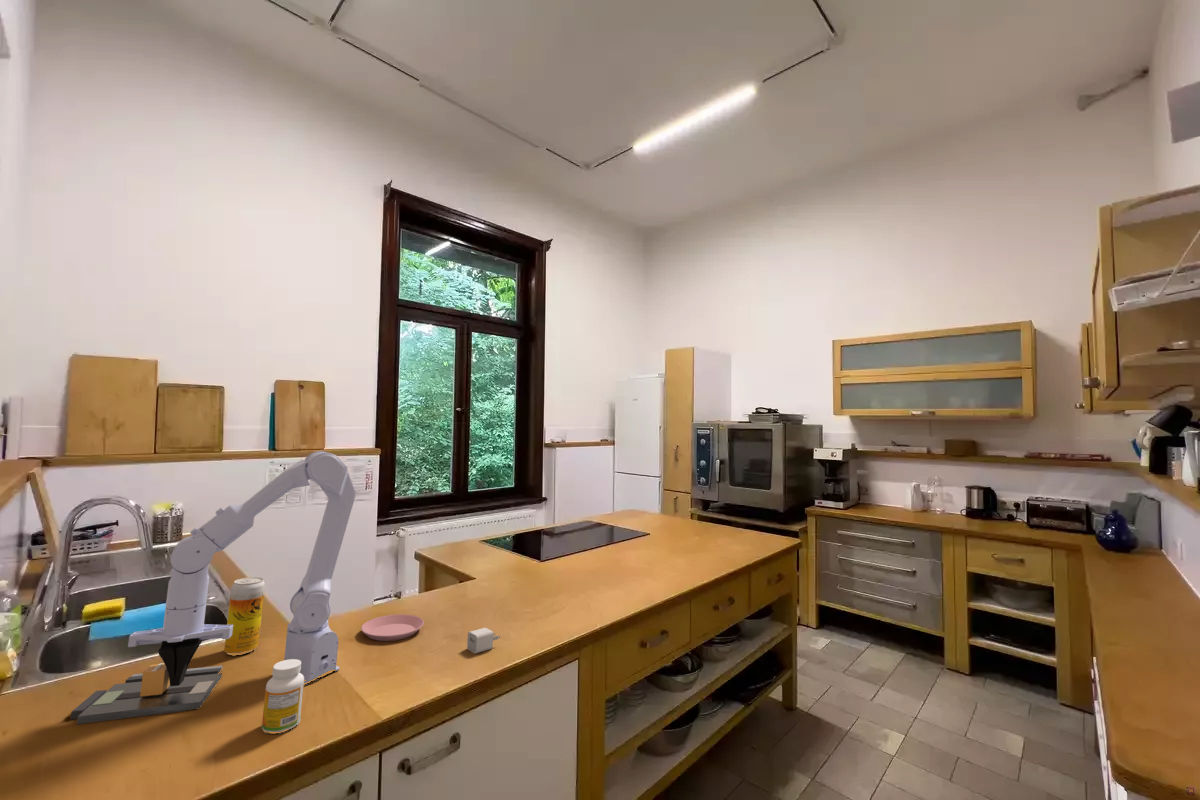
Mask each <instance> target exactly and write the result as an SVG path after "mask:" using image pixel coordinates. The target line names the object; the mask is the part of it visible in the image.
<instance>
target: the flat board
mask: <svg viewBox="0 0 1200 800" xmlns="http://www.w3.org/2000/svg"><path fill="white" fill-rule="evenodd" d="M223 667H224V665H216V666H215V665H213V666H204V667H195V668H187V671H186V674H185V677H190V676H200V675H209V674H218V673H219V672H220V670H221V669H222V668H223ZM222 670H223V669H222ZM142 677H143V672H142V673H133V674H132V675H131V676H129V677H128V678H126V679H125V683H132V682H142ZM107 691H108V689H100V690H96V691H94V692H93V693H92V694H90V695H89V696H88V697H87V698H86V699H84V701H83V702H80V704H79V705H78V706H76V707H75V708H74V709H73V710H71V713H70V720H76V719H77V718H78V716H79V715H80V714H81V713H82V712H83V711H85V710H86V709H87V708H88V707H89V706H90V705H92V704H93V703H94V702H95V701H96V700H97V699H98V698H100V697H101V696H102V695H103V694H104V693H105V692H107Z"/></svg>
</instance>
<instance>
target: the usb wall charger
mask: <svg viewBox="0 0 1200 800" xmlns="http://www.w3.org/2000/svg"><path fill="white" fill-rule="evenodd" d="M499 639H501V634H499V635H496V632H494V631H493V630H491V629H489V628H487V627H482V628H479V629H475V630H471V631H468V632H467V641H466V643H467V644H466V648H467V650H468V651H470V652H471V653H473V654H474V655H475V654H479V653H483V652H485V651H488V650H491V649H493V648H494V647H493V644H494V641H496V640H499Z"/></svg>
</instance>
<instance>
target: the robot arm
mask: <svg viewBox="0 0 1200 800" xmlns="http://www.w3.org/2000/svg"><path fill="white" fill-rule="evenodd" d="M310 481H312V482H314V483H316V485H319V487H320V489H321V490H322V491H323V493H324V494H325V495H326V497H327V503H326V507H325V510H324V514H323V516H322V519H321V522H320V523H321V524H320V526H319V530H318V534H317V536H316V541H315V542H314V546H313V550H312V553H311V556H310V559H309V563H308V566H307V570H306V573H305V575H304V577H303V578H302V580H301V583H300V585H299V589H298V590H297V591H296V592H295V593H294V595H293V596H292V597H291V598H290V602H289V610H290V611H291V613H292V615H293V617H292V620H290V622H289V623H288V624H287V629H286V637H285V638H286V639H285V648H284V649H285V650H284V660H289V659H297V660H300V661H301V670H300V672H299V673H301V674H302V675H303V676H304V680H306V681H304V683H307V682H309V681H311V680H313V679H315V678H317V677H318V676H321V675H322V674H324V673H326V672H328V671H330V670H336V671H335V672H337V671H339V670H340V666H339V665H337V662H338V651H339V637H338V635H337V633H336V632H335V631H333V630H331V628H330V626H329V622H330V621H329V618H330V615H331V605H330V597H331V593H332V579H333V575H334V572H335V568H336V566H337V565H336V564H337V561H338V558H339V555H340V551H341V548H342V544H343V540H344V538H345V533H346V530H347V526H348V524H349V519H350V516H351V513H352V510H353V505H354V502H355V500H356V490H355V488H354V485H353V482H352V479H351V476H350V473H349V470H348V466H347V465H346V464H345V463H344V461H342V460H341V458H340V457H339V456H337V455H336V454H334V453H331V452H327V451H321V450H319V451H314V452H312V453H310V454H308V455H307V456H306V458H304V459H300V460H298V461H297V462H296V463H295V462H294V464H292V465H291V466H289V467H288V468H286V469H284V470H283V472H281V473H280V474H278V475H277V476H276V477H275V478H274V479H273V480H271V481H270V482H269V483H267V484H266V485H265V486H264V487H262V488H261V489H260V490H259V491H257V492H256V493H254V494H253V495H252V496H251V497H250V498H249V499H248V500H246V501H245V502H244V503H242V504H229V505H228V506H227V507H226V508H223V506H222V507H220V508H219V509H217V510H216V511H215V514H216V515H215V516H213V517H212V518H211V519H210V520H208V521H207V522H205V523H204V524H203V525H201V526H200V527H199V528H197V527H194V528H193V529H191V530H190V531H189V534H190V535H189V536H186V537H185V538H182V539H181V540H180V541H178V543H177V544H176V545H175V546H174V548H173V550H172V552H171V554H170V563H171V566H172V568H171V569H170V572H169V573H170V574H169V575H170V579H169V580H168V583H167V584H168V586H167V593H166V602H165V609H164V617H163V626H162V627H161V628H160V627H159V628H155V629H148V630H139V631H134V632H133V633H131V634H130V635H129V637H128V644H127V647H128V648H132V647H133V648H134V647H137V646H142V645H143V646H144V645H153V644H161V645H160V647H159V649H158V656H159V657H160V658H161V660H162V663H164V664H165V666H166V668H167V671H168V675H169V680H170V686H179V685H180V684H181V683H182V682H183V681H184V677H185V674H186V671H187V669H189V665H190V663H191V661H192V660H193V657H194V656H195V654H196V652H197V650H198V649H199V647H200V645H201V644H202V643H203V641H204V640H214V639H215V640H216V639H218V640H219V639H222V640H225V639H229V638H230V637H231V636H232V631H233V625H227V624H212V623H211V624H205V617H206V610H207V601H208V592H209V583H210V576H209V567H210V564H211V562H212V560H213V557H214V555H215V553H216V554H217V553H219V552H222V551H224V550H225V549H226V548H228V546H230V545H231V544H232V543H233V542H235V541H236V540H237V539H239V538H240V537H241V536H242V535H243V534H245V533H247V532H248V531H249V530H250V529H251V528H253V526H254V523H255V517H256V516H257V515H259V513H261V512H263V510H265V509H266V508H268V507H269V506H271V505H272V504H274V502H275V503H276V501H278V500H279V499H280V498H281V497H283V496H284V495H285V494H287V493H289V492H290V491H291V490H293V489H298V488H302V487H307V486H308V487H309V486H310V485H311V484H310ZM284 660H283V661H284Z"/></svg>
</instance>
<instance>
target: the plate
mask: <svg viewBox="0 0 1200 800" xmlns="http://www.w3.org/2000/svg"><path fill="white" fill-rule="evenodd" d="M424 622H425V621H424V619H422V618H421V617H419V616H416V615H412V614H388V615H383V616H377V617H375V618H372V619H370V620H368V621H366V622H364V623H363V624H362V625H361V626H360V629H361V632H362V633H364V634H365V635H366V636H367V637H368V638H369V639H371V640H373V641H379V642H394V641H399V640H403V639H407V638H410V637H411V636H413V635H415V634H416V633H417V632H418V631H419V630H420V629H421V628H422V627H423V626H424V624H425V623H424Z"/></svg>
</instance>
